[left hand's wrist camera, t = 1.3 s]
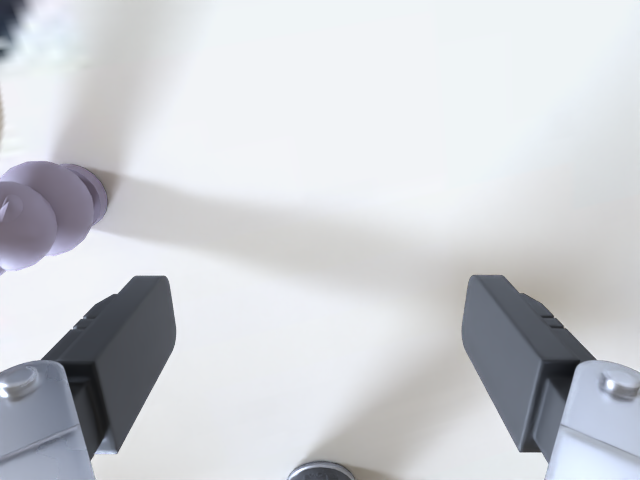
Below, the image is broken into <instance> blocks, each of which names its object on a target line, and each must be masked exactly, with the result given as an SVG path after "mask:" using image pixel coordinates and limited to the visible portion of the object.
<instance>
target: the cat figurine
mask: <svg viewBox="0 0 640 480" xmlns="http://www.w3.org/2000/svg"><path fill="white" fill-rule="evenodd" d="M107 204H108V200H107V195H106V191H105V189H104V187H103V185H102V183H101V182H100V181H99V180H98V178H97V177H96V176H95V175H94V174H93V173H91V172H90V171H88V170H86V169H85V168H83V167H80V166H77V165H74V164H61V165H57V164H54V163H51V162H47V161H30V162H25V163H22V164H20V165H17V166H15V167H12V168H10V169H9V170H8V171H7V172H6V173H5V174H4V175H3V176H2V177H1V178H0V275H2V274H3V273H4V272H5V271H17V270H21V269H23V268H26V267H29V266H32V265H34V264H36V263H37V262H38V261H39V260H41V259H42V258H43V257H44V256H54V255H59V254H61V253H64V252H67V251H70V250H72V249H73V248H75V247H76V246H77V245H78V244H79V243H81V242H82V241H83V240H84V239H85V237H86V236H87V234H88V232H89V230H90V228H91V226H93V225H94V224H96V223H97V222H98V221H100V220H101V219H102V218H103V216H104V214H105V213H106V210H107Z"/></svg>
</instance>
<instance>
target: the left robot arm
mask: <svg viewBox="0 0 640 480" xmlns="http://www.w3.org/2000/svg"><path fill="white" fill-rule="evenodd" d="M175 340H176V324H175V317H174V311H173V304H172V298H171V291H170V285H169V281H168V279H167V277H166V276H134V277H133V278H132V279H131V280H130V281H129V282H128V283H127V285H126V286H125V287H124V288H123V289H122V290H121V291H120V292H119V293H118V294H113V295H111V296H109V297H108V298H106V299H104V300H102V301H101V302H99V303H97V304H95V305H94V306H93V307H92V308H91V309H90V310H89V311H88V312H87V313H86V314H85V315H84V316H83V319H81V320H80V321H79V322H78V323H77V324H76V325H75V326H74V327H73V330H70V331H69V332H68V333H67V334H66V335H65V336H64V337H63V338H62V339H61V340H60V341H59V342H58V343H57V344H56V345H55V346H54V347H53V348H52V349H51V350H50V351H49V352H48V353H47V354H46V355H45V356H44V357H43V358H42V359H41V360H38V361H31V362H27V363H23V364H19V365H17V366H14V367H11V368H9V369H7V370H4V371H2V372H1V373H0V480H96V479H95V476H94V472H93V469H92V465H91V459H92V458H93V456H94V454H117V453H118V451H119V449H120V448H121V446H122V444H123V442H124V440H125V438H126V436H127V435H128V433H129V431H130V429H131V427H132V425H133V423H134V422H135V420H136V418H137V416H138V414H139V412H140V410H141V409H142V407H143V405H144V403H145V401H146V399H147V397H148V395H149V394H150V392H151V390H152V388H153V386H154V384H155V382H156V381H157V379H158V377H159V375H160V373H161V371H162V369H163V368H164V366H165V364H166V362H167V360H168V358H169V356H170V355H171V353H172V351H173V348H174V345H175ZM462 340H463V345H464V348H465V350H466V352H467V354H468V356H469V358H470V360H471V362H472V364H473V365H474V367H475V369H476V371H477V373H478V375H479V377H480V379H481V381H482V382H483V384H484V386H485V388H486V390H487V392H488V394H489V396H490V398H491V399H492V401H493V403H494V405H495V407H496V409H497V411H498V413H499V414H500V416H501V418H502V420H503V422H504V424H505V426H506V428H507V430H508V431H509V433H510V435H511V437H512V439H513V441H514V443H515V445H516V447H517V448H518V450H519V452H542V454H543V455H544V457H545V459H546V460H547V462H548V464H549V465H548V469H547V472H546V476H545V479H544V480H640V373H639V372H638V371H636V370H633V369H631V368H629V367H626V366H623V365H621V364H617V363H613V362H609V361H602V360H596V359H595V358H594V357H593V356H592V355H591V354H590V352H589V351H588V350H587V349H586V348H585V347H584V346H583V345H582V344H581V343H580V342H579V341H578V340H577V339H576V338H575V337H574V336H573V335H572V334H571V333H570V332H569V331H568V330H567V329H564V326H563V325H562V324H561V323H560V322H559V321H558V320H557V319H556V318H554V316H553V315H552V314H551V313H550V311H549V310H548V309H547V308H546V307H545V306H544V305H543V304H542V303H540V302H538V301H536V300H535V299H533V298H531V297H529V296H527V295H526V294H524V293H519V292H518V291H517V290H516V289H515V288H514V287H513V286H512V285H511V283H510V282H509V281H508V280H507V279H506V278H505V277H504V276H502V275H473V276H471V278H470V280H469V283H468V289H467V295H466V302H465V309H464V315H463V322H462ZM287 480H355V478H354V477H353V475H352V474H351V473H350V472H349V471H348V470H347V469H346V468H344V467H342V466H340V465H338V464H335V463H331V462H322V461H320V462H311V463H307V464H304V465H302V466H300V467H298V468H296V469H295V470H294V471H293V472H292V473H291V474H290V475H289V477H288V479H287Z"/></svg>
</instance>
